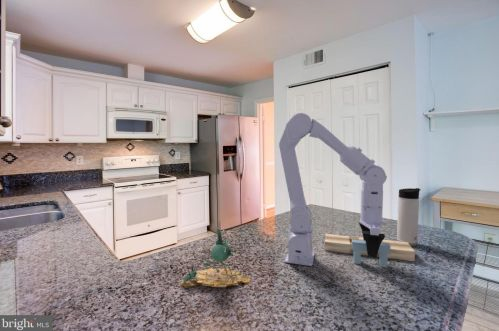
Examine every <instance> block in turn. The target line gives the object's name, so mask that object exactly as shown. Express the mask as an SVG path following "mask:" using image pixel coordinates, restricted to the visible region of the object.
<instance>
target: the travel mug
mask: <svg viewBox="0 0 499 331" xmlns="http://www.w3.org/2000/svg"><path fill="white" fill-rule="evenodd" d="M420 191H421V188H418V187H415V188H411V187H409V188H400V189H398V198H397V199H398V201H397V222H396V225H397V226H396V241H400V242H408V244H409V245H410V246H411V247H416V246H418V238H419V236H418V235H419V233H418V232H419V216H420V215H419V211H420Z"/></svg>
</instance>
